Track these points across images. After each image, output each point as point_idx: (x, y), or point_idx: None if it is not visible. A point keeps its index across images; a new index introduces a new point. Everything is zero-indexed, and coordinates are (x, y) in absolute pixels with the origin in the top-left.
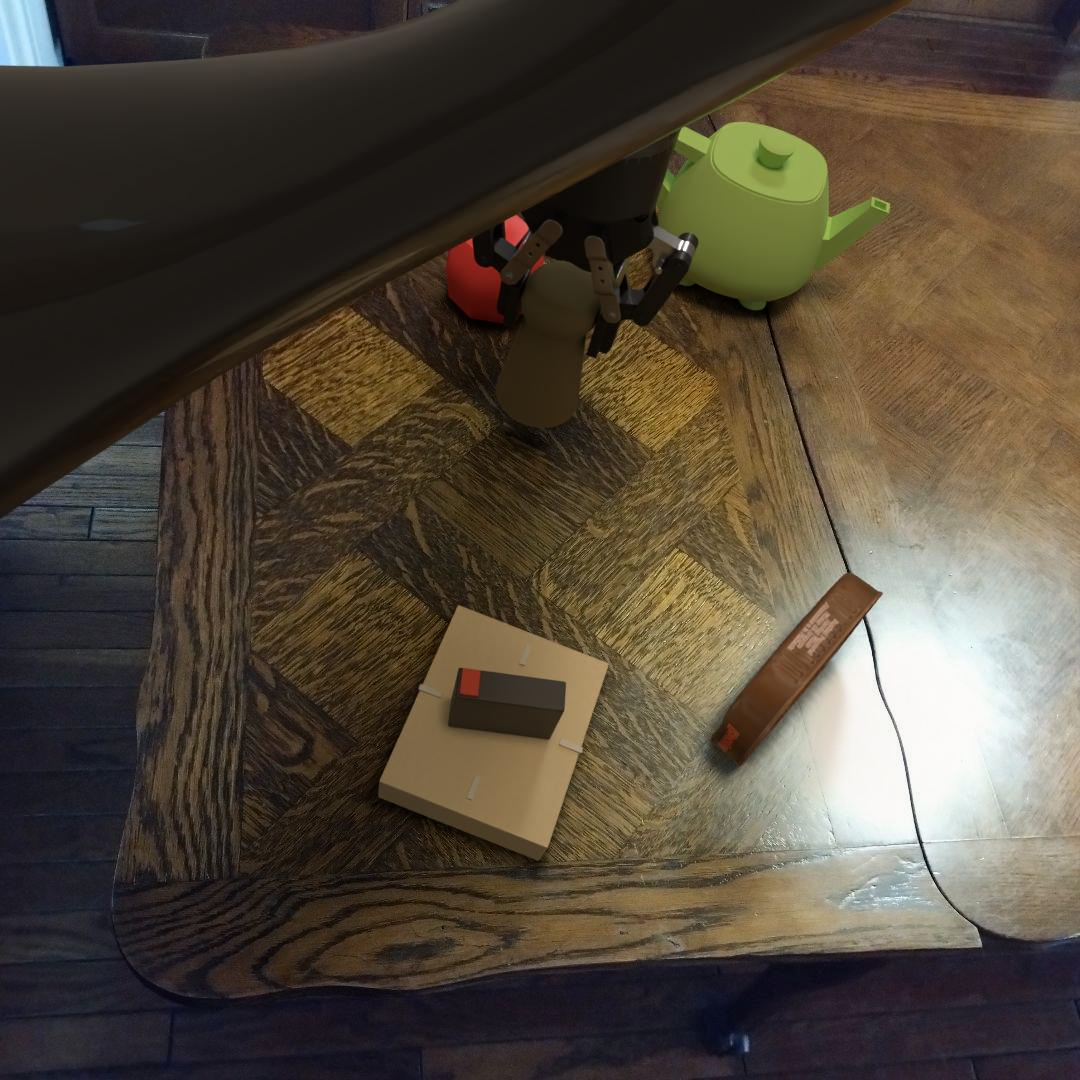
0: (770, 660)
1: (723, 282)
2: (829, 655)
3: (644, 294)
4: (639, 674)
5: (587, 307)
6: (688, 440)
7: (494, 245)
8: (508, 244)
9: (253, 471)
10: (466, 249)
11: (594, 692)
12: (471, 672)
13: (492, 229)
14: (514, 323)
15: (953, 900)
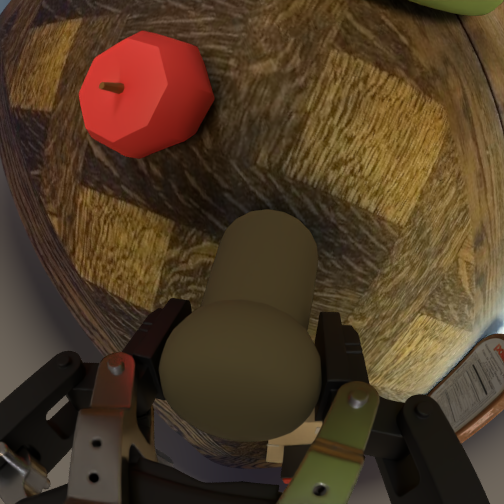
0: None
1: (432, 4)
2: (479, 429)
3: (402, 444)
4: (387, 390)
5: (290, 431)
6: (431, 200)
7: (81, 407)
8: (90, 394)
9: (121, 340)
10: (95, 134)
11: None
12: (287, 480)
13: (63, 445)
14: None
15: None
